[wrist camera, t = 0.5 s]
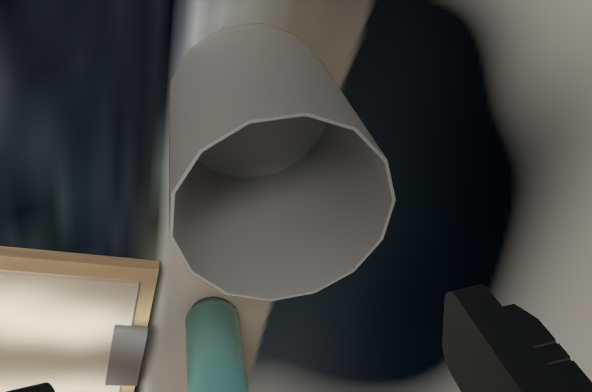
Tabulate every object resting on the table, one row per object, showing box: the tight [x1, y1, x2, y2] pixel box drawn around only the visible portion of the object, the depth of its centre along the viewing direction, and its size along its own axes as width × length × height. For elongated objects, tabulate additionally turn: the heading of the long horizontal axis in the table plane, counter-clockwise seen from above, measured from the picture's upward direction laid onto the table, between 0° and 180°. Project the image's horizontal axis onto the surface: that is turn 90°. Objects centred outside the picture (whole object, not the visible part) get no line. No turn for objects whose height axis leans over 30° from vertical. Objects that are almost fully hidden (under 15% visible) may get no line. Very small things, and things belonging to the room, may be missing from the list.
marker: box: [186, 297, 249, 392], centre depth 30 cm, size 4×4×12 cm
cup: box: [169, 23, 396, 301], centre depth 23 cm, size 8×8×10 cm
